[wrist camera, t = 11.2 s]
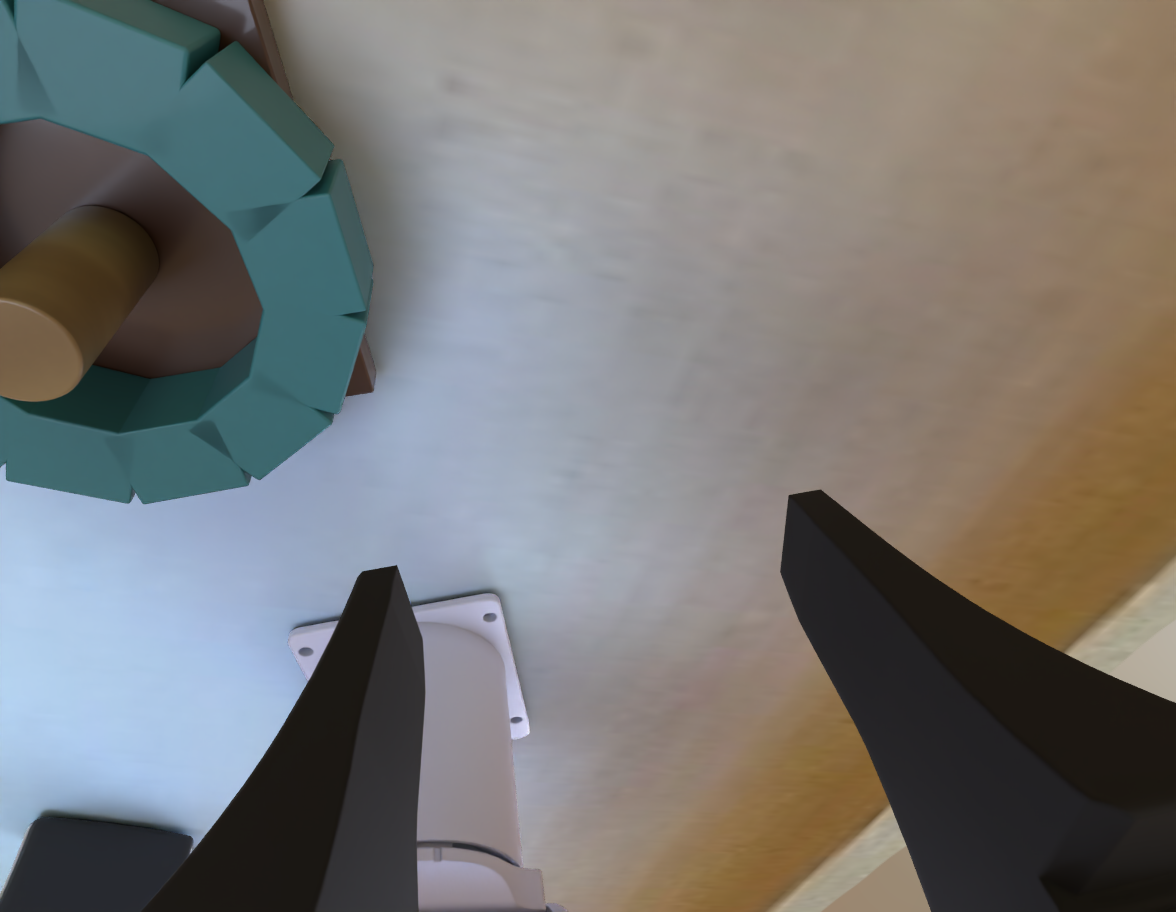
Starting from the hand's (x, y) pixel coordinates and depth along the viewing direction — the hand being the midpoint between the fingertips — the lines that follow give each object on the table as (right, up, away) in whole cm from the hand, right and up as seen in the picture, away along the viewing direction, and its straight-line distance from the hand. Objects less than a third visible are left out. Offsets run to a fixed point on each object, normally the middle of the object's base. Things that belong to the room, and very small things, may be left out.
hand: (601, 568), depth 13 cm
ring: (-11, +7, +4) cm, 14 cm away
